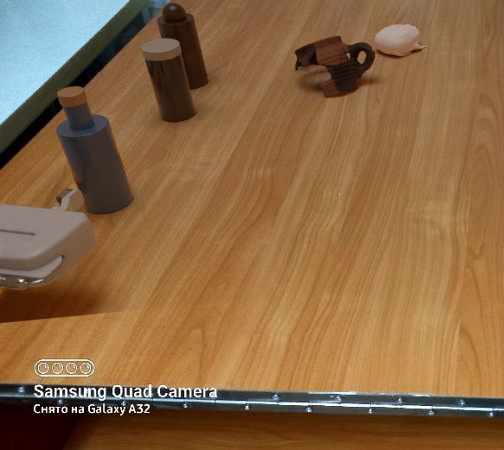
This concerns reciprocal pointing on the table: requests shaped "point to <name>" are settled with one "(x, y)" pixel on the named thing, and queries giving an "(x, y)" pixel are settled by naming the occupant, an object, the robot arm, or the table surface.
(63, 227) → the robot arm
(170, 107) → the salt shaker
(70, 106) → the blue bottle
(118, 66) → the table surface
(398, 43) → the pale pink rounded lump
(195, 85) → the pepper mill
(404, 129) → the table surface
